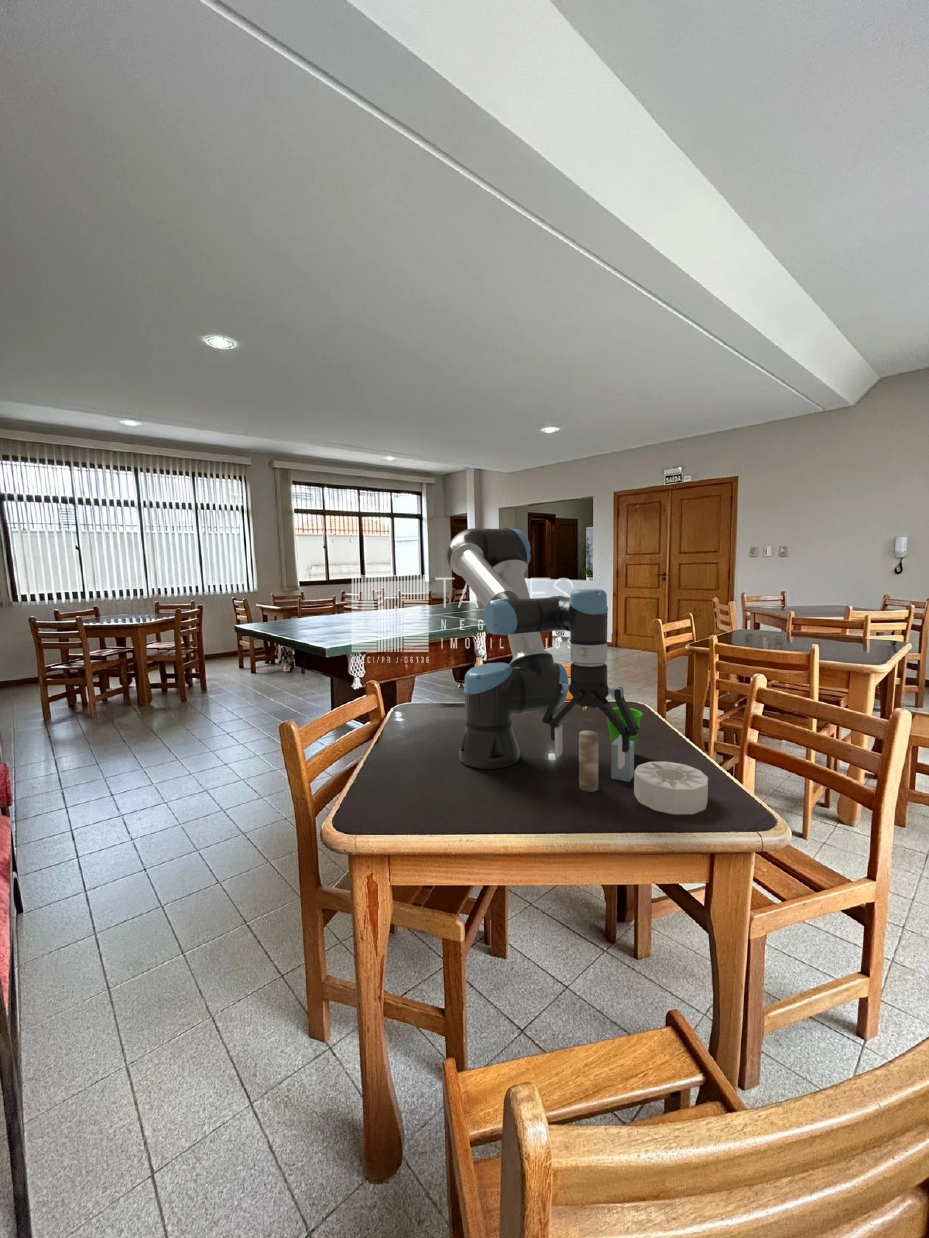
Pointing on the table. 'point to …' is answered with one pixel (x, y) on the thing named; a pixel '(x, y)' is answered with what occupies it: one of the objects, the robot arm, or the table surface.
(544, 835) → the table surface
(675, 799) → the socket
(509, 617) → the robot arm
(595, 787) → the dowel
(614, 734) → the cup
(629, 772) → the square peg
